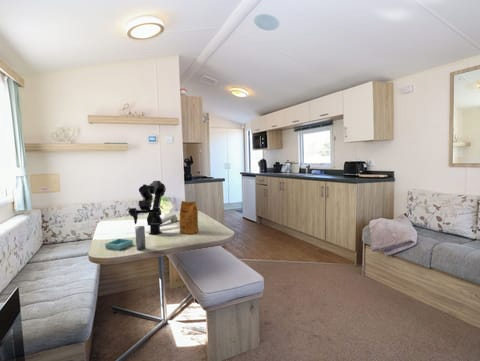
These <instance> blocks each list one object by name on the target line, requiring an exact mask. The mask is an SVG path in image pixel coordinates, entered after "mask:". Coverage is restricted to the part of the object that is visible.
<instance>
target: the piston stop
mask: <svg viewBox="0 0 480 361" xmlns="http://www.w3.org/2000/svg"><path fill="white" fill-rule="evenodd" d="M134 230H135V244H136V246H135V247H136V250H137V251H139V252H141V251H144V250H146V249H147V247H146V230H145V225H138V226H135V229H134Z"/></svg>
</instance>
